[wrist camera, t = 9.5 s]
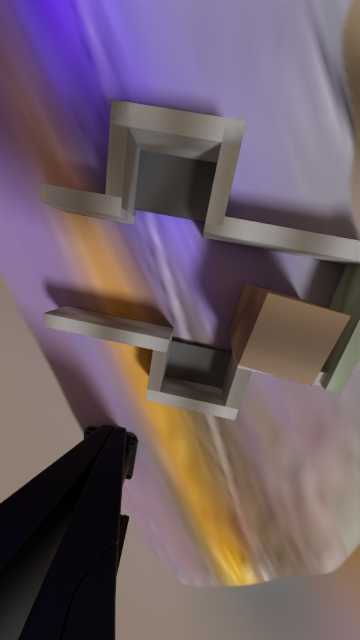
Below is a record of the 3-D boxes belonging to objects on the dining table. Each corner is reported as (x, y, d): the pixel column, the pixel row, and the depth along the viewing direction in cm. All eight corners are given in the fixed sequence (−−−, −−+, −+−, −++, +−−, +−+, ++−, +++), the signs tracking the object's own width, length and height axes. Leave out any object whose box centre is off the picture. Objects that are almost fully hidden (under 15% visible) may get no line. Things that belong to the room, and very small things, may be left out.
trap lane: (66, 361, 21) (40, 380, 18) (68, 121, 15) (30, 80, 12) (296, 412, 20) (315, 442, 17) (402, 176, 14) (466, 149, 10)
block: (276, 348, 18) (311, 386, 13) (226, 333, 19) (238, 364, 13) (299, 298, 17) (350, 316, 11) (245, 283, 17) (268, 292, 11)
